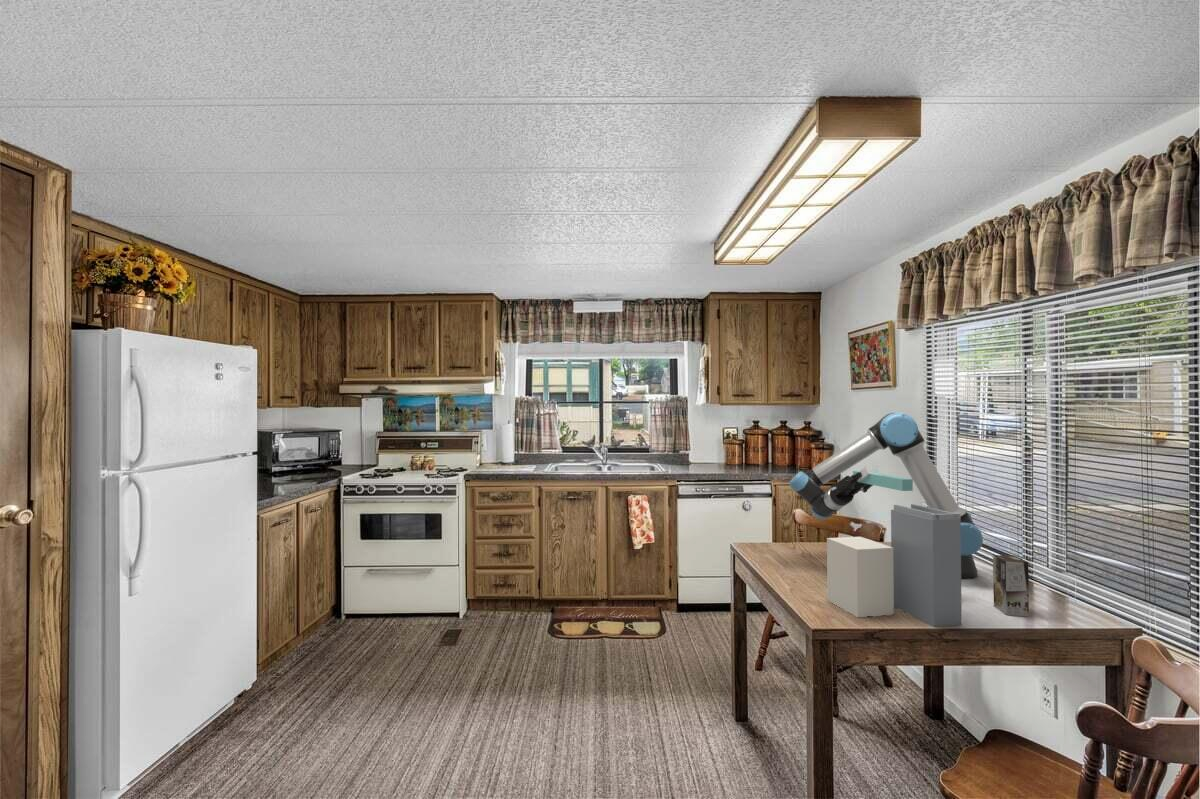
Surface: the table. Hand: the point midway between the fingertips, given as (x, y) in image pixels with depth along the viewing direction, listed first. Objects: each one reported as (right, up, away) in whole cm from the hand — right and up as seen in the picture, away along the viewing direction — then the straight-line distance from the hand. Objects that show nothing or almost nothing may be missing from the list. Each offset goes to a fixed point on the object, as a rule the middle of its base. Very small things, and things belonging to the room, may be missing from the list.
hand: (873, 470), depth 203 cm
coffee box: (+34, -41, -18) cm, 56 cm away
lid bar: (+1, -5, -4) cm, 6 cm away
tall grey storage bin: (+6, -41, -21) cm, 46 cm away
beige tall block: (-11, -41, -14) cm, 45 cm away
